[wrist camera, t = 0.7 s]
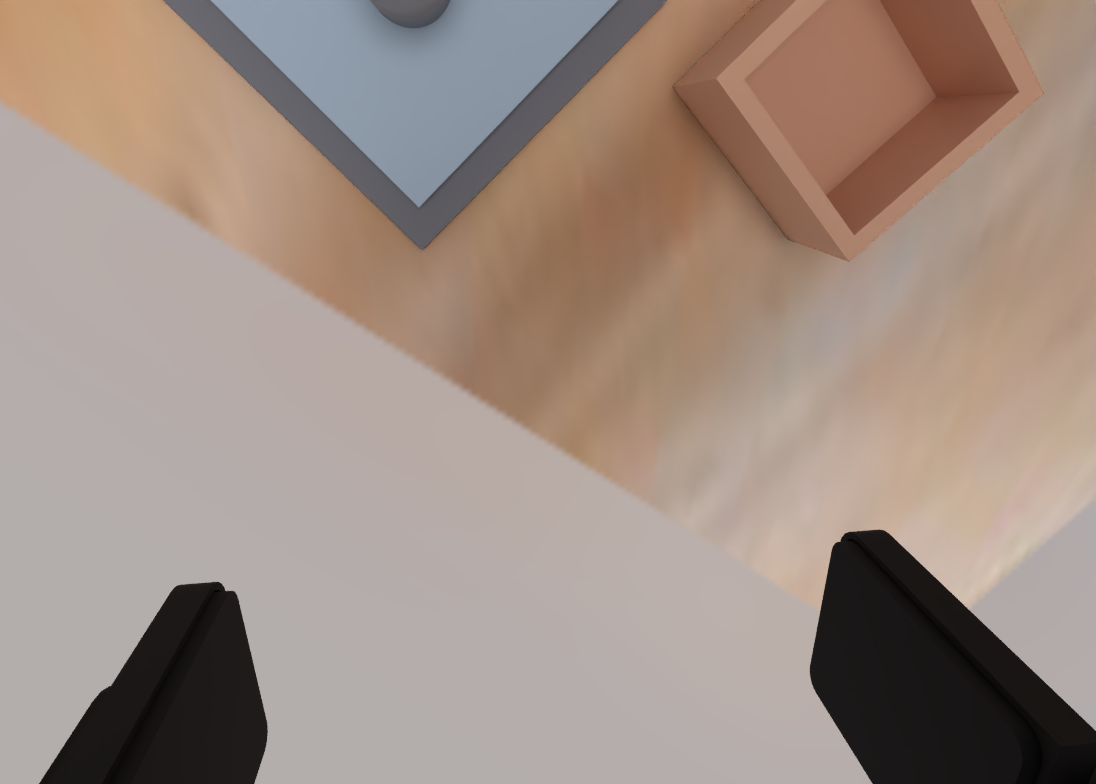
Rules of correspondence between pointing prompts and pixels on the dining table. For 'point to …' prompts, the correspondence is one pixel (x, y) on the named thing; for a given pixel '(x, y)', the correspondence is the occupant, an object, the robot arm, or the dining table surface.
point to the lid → (415, 69)
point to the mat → (477, 168)
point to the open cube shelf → (856, 106)
